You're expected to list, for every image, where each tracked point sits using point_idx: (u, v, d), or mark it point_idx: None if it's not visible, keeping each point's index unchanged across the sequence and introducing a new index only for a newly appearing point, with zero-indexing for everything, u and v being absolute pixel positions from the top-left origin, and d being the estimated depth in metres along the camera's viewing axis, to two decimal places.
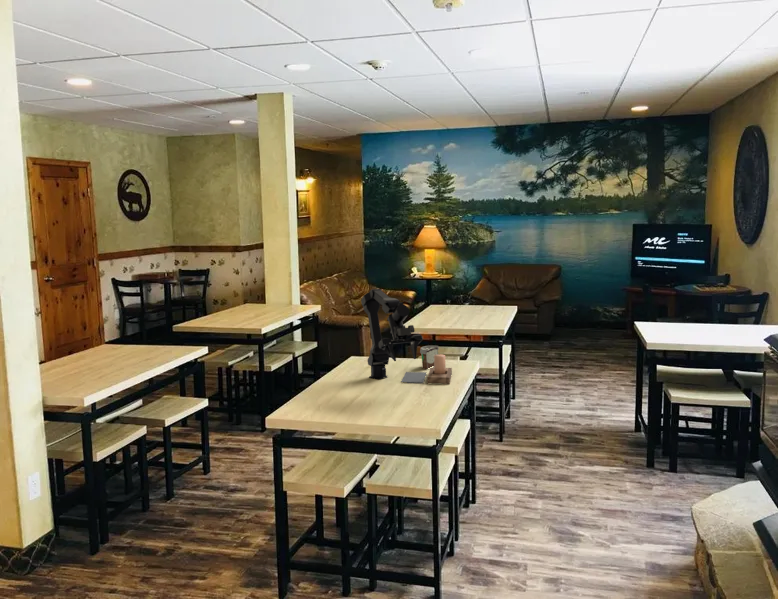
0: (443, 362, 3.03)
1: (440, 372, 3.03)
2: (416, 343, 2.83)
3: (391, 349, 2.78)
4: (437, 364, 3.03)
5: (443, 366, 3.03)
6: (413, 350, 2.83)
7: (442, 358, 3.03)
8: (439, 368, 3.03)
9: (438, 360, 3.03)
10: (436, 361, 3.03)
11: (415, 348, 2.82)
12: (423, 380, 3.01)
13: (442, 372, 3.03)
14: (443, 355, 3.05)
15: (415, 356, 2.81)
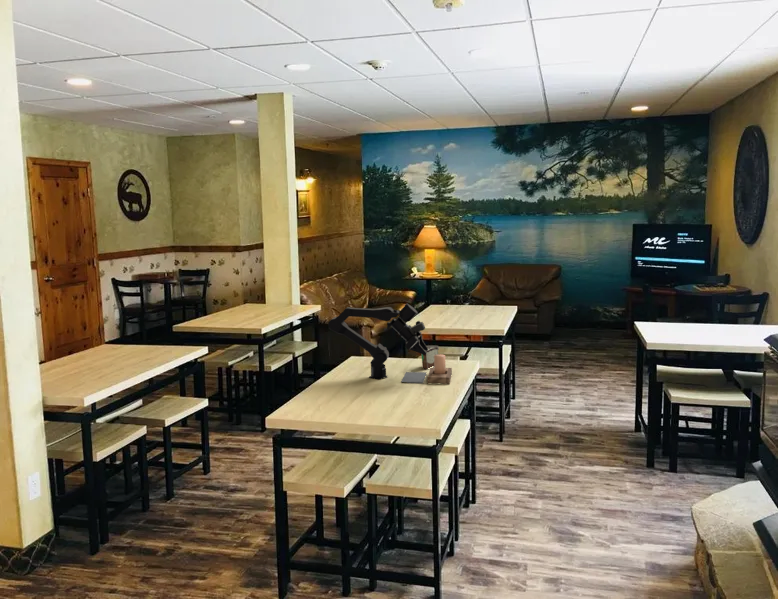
0: (443, 362, 3.03)
1: (440, 372, 3.03)
2: (421, 337, 3.11)
3: (420, 345, 3.00)
4: (437, 364, 3.03)
5: (443, 366, 3.03)
6: (422, 344, 3.10)
7: (442, 358, 3.03)
8: (439, 368, 3.03)
9: (438, 360, 3.03)
10: (436, 361, 3.03)
11: None
12: (423, 380, 3.01)
13: (442, 372, 3.03)
14: (443, 355, 3.05)
15: None
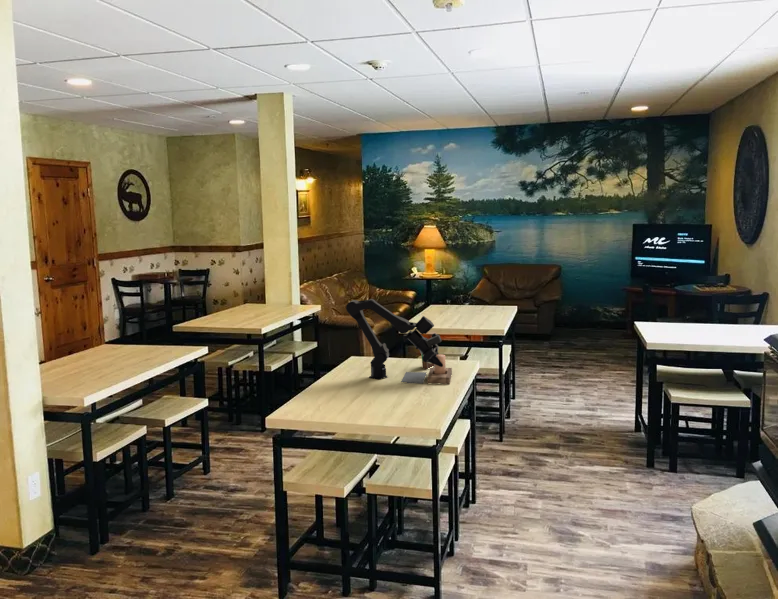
0: (443, 362, 3.03)
1: (440, 372, 3.03)
2: (437, 350, 3.09)
3: (437, 357, 3.01)
4: None
5: (443, 366, 3.03)
6: None
7: (442, 358, 3.03)
8: (439, 368, 3.03)
9: None
10: None
11: None
12: (423, 380, 3.01)
13: (442, 372, 3.03)
14: (443, 355, 3.05)
15: None
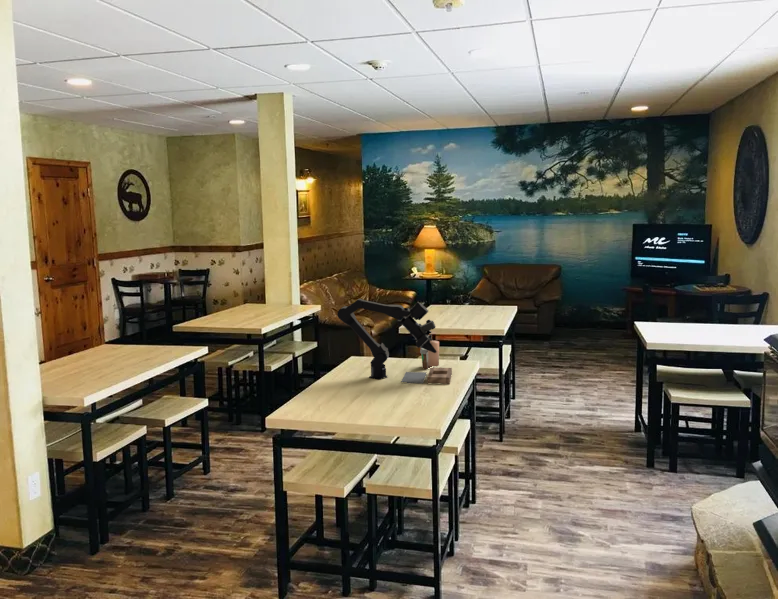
0: (437, 348, 3.03)
1: (433, 358, 3.03)
2: (431, 336, 3.08)
3: (430, 343, 3.01)
4: None
5: (437, 352, 3.03)
6: None
7: (436, 344, 3.02)
8: (432, 354, 3.03)
9: None
10: None
11: None
12: (423, 380, 3.01)
13: (435, 358, 3.03)
14: (437, 341, 3.04)
15: None
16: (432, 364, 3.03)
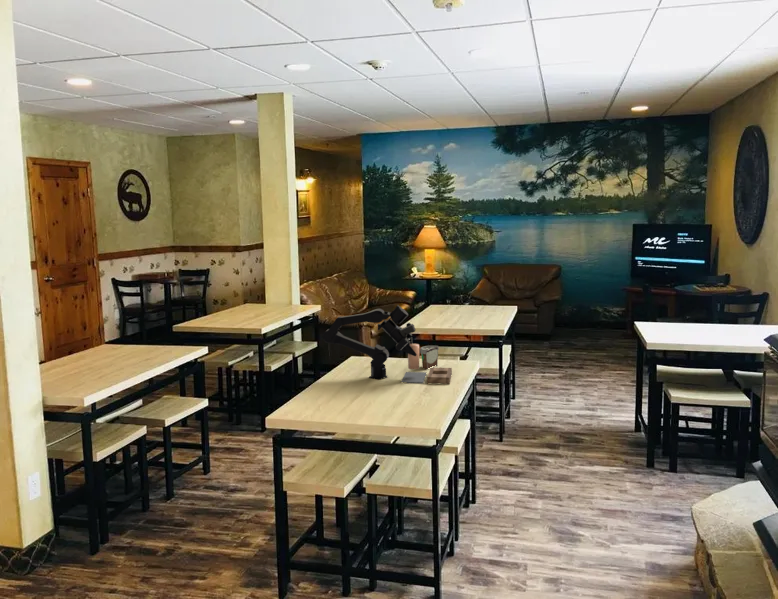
0: (417, 351, 3.04)
1: (413, 361, 3.04)
2: (411, 339, 3.10)
3: (410, 346, 3.02)
4: None
5: (417, 355, 3.04)
6: None
7: (416, 347, 3.04)
8: (413, 357, 3.04)
9: None
10: None
11: None
12: (423, 380, 3.01)
13: (416, 361, 3.05)
14: (417, 344, 3.06)
15: None
16: (412, 367, 3.05)
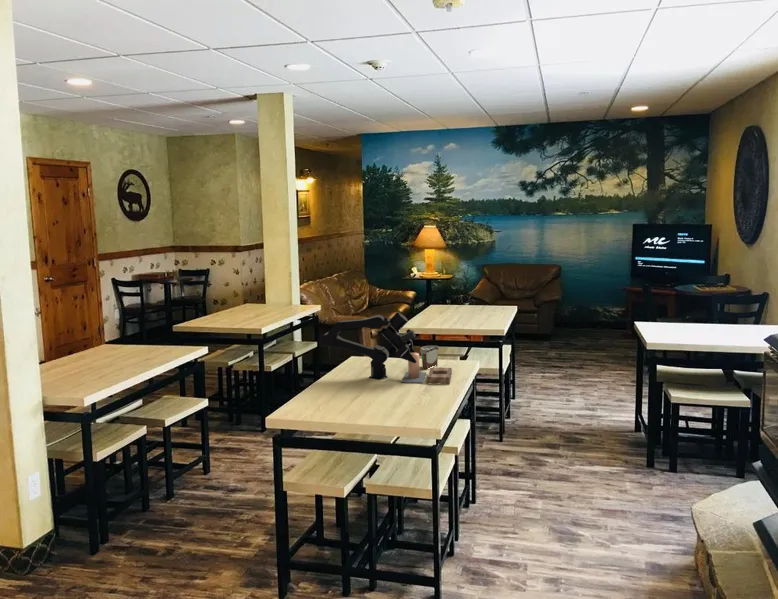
0: (417, 360, 3.05)
1: (413, 370, 3.05)
2: (412, 345, 3.12)
3: (410, 353, 3.01)
4: (411, 362, 3.05)
5: (417, 364, 3.05)
6: (412, 352, 3.11)
7: (416, 356, 3.04)
8: (413, 366, 3.05)
9: None
10: None
11: (413, 349, 3.12)
12: (423, 380, 3.01)
13: (416, 370, 3.05)
14: (417, 353, 3.06)
15: None
16: (412, 376, 3.05)
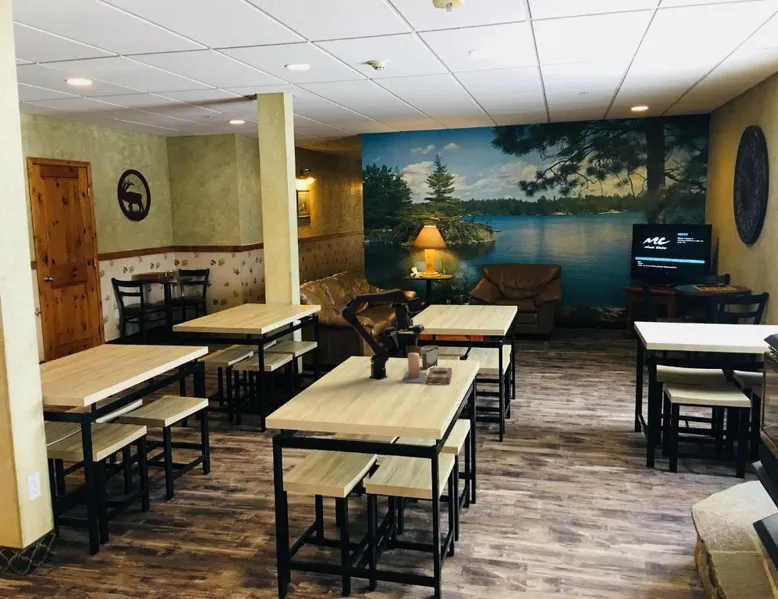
0: (417, 360, 3.05)
1: (413, 370, 3.05)
2: None
3: None
4: (411, 362, 3.05)
5: (417, 364, 3.05)
6: (396, 340, 3.13)
7: (416, 356, 3.04)
8: (413, 366, 3.05)
9: (412, 358, 3.04)
10: (410, 359, 3.05)
11: None
12: (423, 380, 3.01)
13: (416, 370, 3.05)
14: (417, 353, 3.06)
15: (397, 346, 3.14)
16: (412, 376, 3.05)
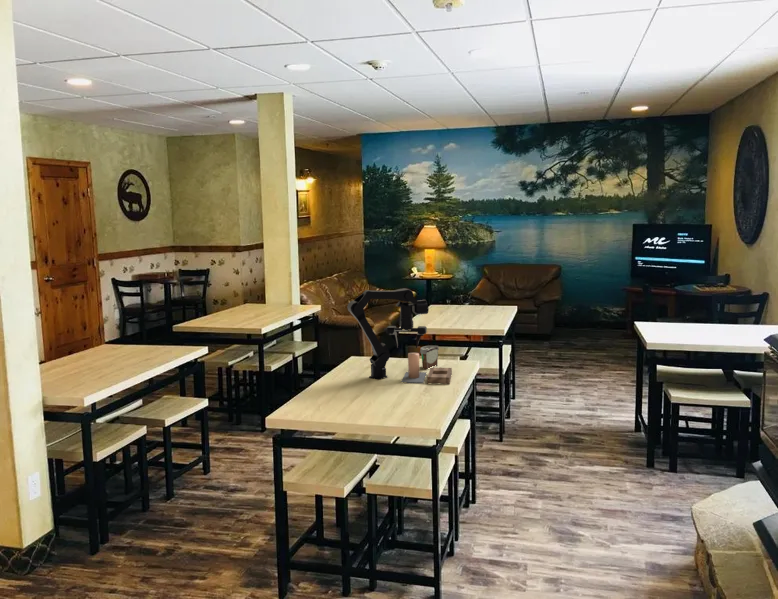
0: (417, 360, 3.05)
1: (413, 370, 3.05)
2: None
3: None
4: (411, 362, 3.05)
5: (417, 364, 3.05)
6: (396, 339, 3.13)
7: (416, 356, 3.04)
8: (413, 366, 3.05)
9: (412, 358, 3.04)
10: (410, 359, 3.05)
11: None
12: (423, 380, 3.01)
13: (416, 370, 3.05)
14: (417, 353, 3.06)
15: None
16: (412, 376, 3.05)
